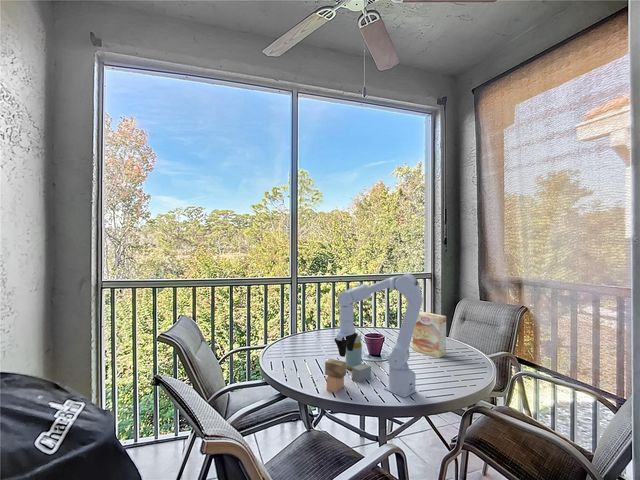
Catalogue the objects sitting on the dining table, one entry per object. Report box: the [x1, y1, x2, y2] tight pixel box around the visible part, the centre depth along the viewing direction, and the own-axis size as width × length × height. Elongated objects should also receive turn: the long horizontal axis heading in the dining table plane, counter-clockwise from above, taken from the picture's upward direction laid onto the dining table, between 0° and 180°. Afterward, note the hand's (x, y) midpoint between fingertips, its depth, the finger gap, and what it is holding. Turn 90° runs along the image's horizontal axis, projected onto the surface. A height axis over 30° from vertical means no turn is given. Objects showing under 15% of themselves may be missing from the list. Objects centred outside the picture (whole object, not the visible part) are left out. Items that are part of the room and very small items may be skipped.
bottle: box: [345, 331, 363, 371], centre depth 150 cm, size 7×7×15 cm
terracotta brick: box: [326, 375, 345, 393], centre depth 130 cm, size 7×4×5 cm, turn 151°
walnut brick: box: [324, 358, 347, 379], centre depth 130 cm, size 7×4×5 cm, turn 59°
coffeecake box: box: [412, 310, 447, 358], centre depth 171 cm, size 15×7×20 cm, turn 42°
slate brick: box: [351, 363, 372, 383], centre depth 139 cm, size 7×4×5 cm, turn 131°
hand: (346, 353), depth 138 cm, fingers open, 7 cm apart
